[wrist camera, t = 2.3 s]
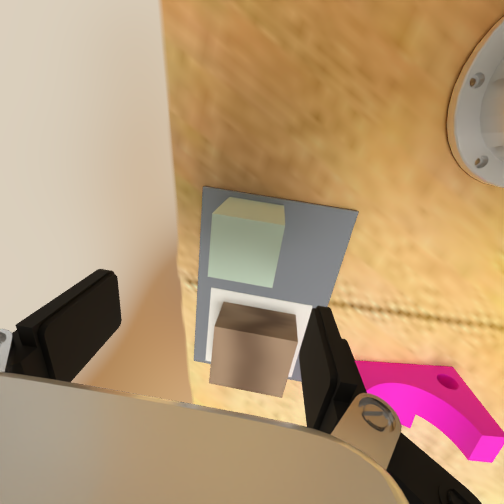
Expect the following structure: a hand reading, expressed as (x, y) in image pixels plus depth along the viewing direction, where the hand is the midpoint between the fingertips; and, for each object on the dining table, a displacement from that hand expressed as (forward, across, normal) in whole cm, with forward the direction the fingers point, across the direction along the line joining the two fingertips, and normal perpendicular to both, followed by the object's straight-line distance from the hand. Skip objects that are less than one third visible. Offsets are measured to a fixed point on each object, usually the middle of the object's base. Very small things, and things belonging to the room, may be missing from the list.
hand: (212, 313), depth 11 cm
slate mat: (+13, -3, +7) cm, 15 cm away
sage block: (+12, -1, -1) cm, 13 cm away
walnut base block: (+13, -3, +12) cm, 18 cm away
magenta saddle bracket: (+13, -19, +16) cm, 28 cm away
